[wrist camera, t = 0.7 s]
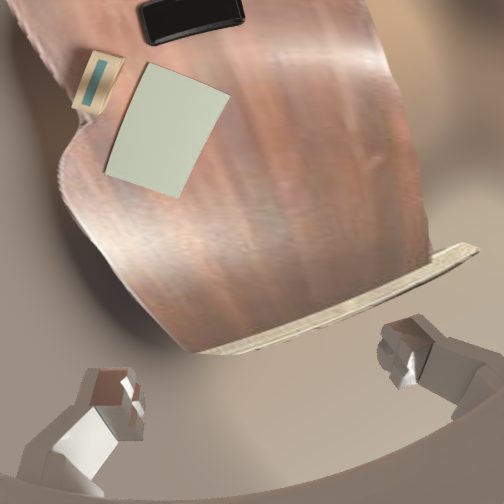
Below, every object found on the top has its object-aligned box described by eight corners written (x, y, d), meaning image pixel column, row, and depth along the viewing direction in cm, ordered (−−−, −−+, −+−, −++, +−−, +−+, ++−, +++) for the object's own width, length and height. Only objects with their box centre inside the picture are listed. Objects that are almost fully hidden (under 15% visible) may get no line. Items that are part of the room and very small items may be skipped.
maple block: (102, 50, 33) (92, 50, 29) (127, 58, 35) (120, 58, 31) (81, 102, 37) (71, 107, 33) (105, 109, 39) (96, 115, 35)
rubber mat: (149, 62, 36) (149, 62, 36) (229, 95, 43) (230, 95, 42) (105, 172, 45) (104, 173, 45) (178, 197, 52) (178, 198, 51)
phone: (246, 23, 35) (148, 48, 34) (245, 24, 36) (149, 48, 35) (236, -19, 30) (137, 5, 29) (235, -18, 31) (138, 6, 30)
